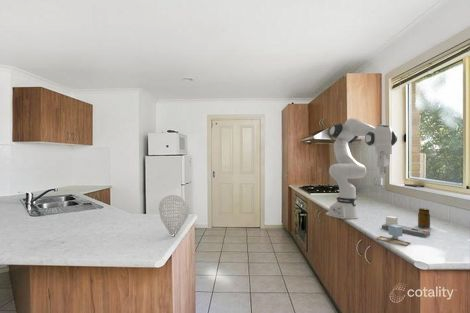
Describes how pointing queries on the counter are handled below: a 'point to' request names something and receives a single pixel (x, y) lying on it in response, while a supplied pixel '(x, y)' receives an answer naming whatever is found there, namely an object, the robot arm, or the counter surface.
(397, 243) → the oak pad
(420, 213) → the condiment
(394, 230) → the light blue block
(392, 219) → the plug
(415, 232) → the power strip
